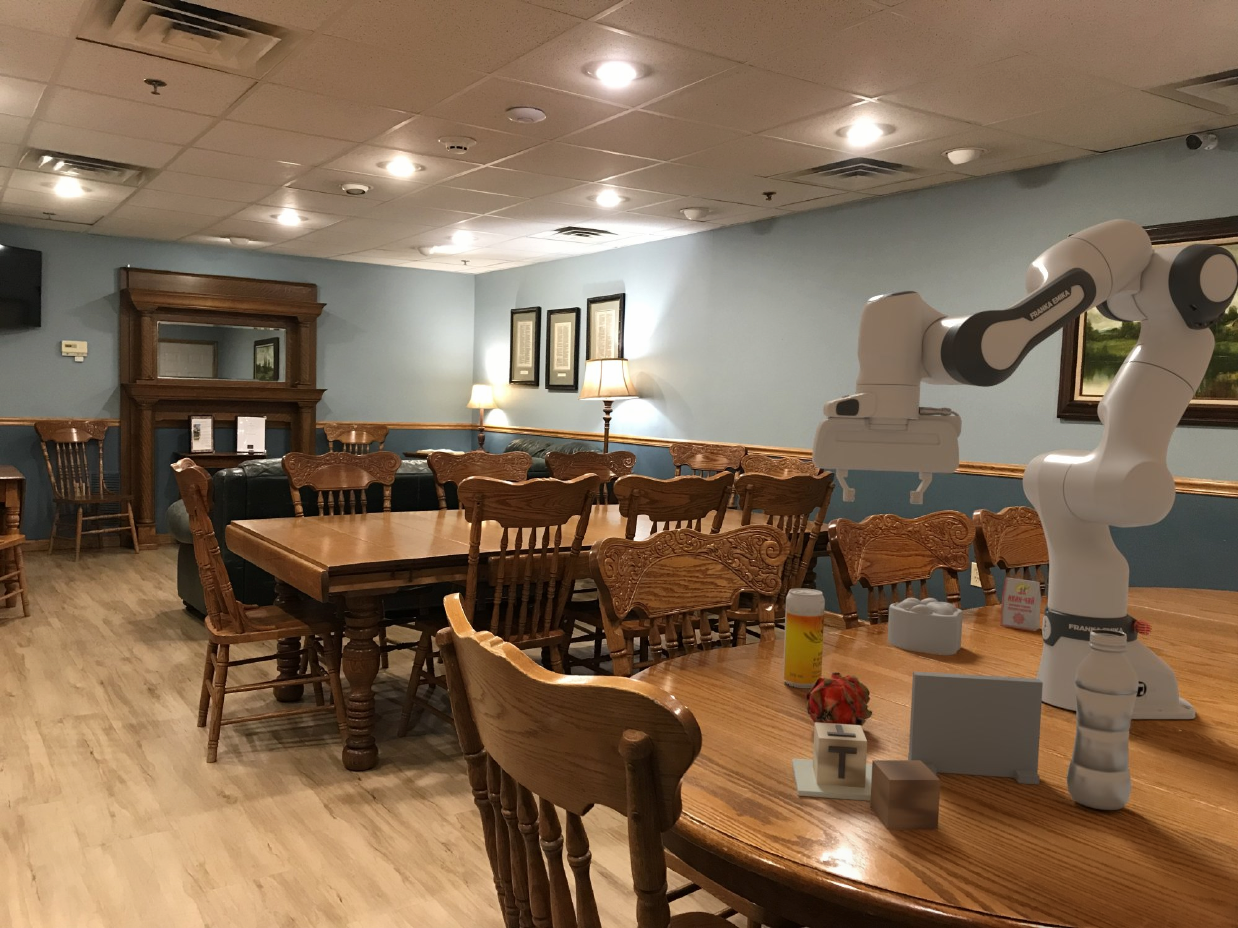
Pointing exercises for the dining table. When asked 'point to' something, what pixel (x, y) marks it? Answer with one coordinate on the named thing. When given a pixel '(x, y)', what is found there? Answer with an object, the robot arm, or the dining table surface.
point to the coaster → (811, 788)
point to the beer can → (803, 637)
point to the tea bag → (1021, 604)
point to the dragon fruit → (838, 700)
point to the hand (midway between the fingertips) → (882, 502)
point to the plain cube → (905, 795)
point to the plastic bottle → (1103, 723)
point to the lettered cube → (839, 754)
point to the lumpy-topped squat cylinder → (925, 626)
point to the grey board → (976, 724)
